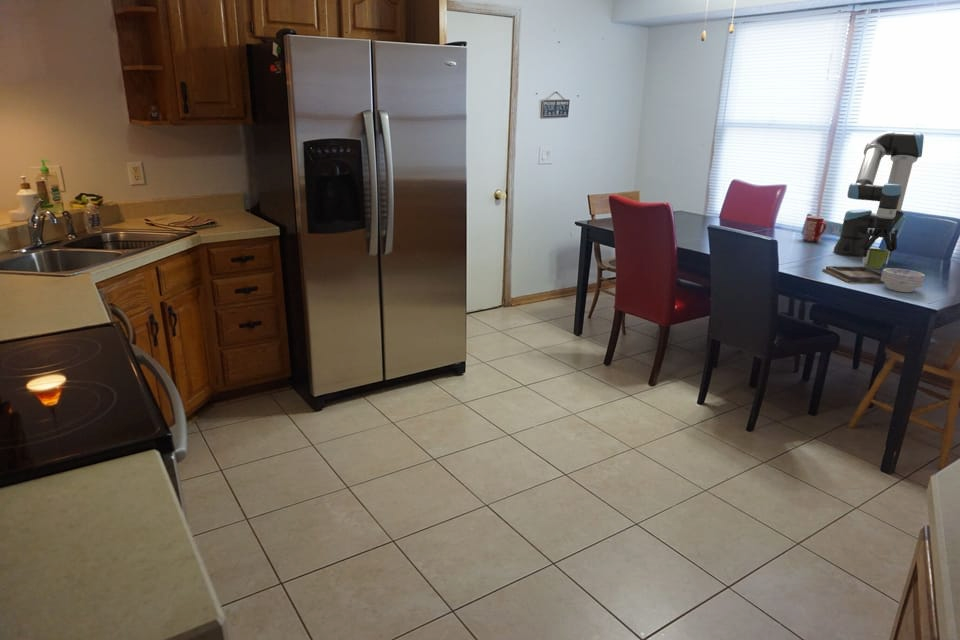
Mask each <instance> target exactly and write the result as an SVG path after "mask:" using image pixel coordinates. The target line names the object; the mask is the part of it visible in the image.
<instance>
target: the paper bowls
mask: <svg viewBox="0 0 960 640" xmlns="http://www.w3.org/2000/svg"><path fill="white" fill-rule="evenodd" d="M881 273H882V276H881V281H883V282H884V283H883V284H884V286H885V288H887V289H888V290H891V291H893V292H899V293H913V292H914V291H916V289H917V288H921V287H923V285H924V280H925V277H926V276H925V274H924V273H922V272H919V271H916V270H911V269H905V268H896V267H887V268H886V267H884V268H883V269H882V272H881Z"/></svg>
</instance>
